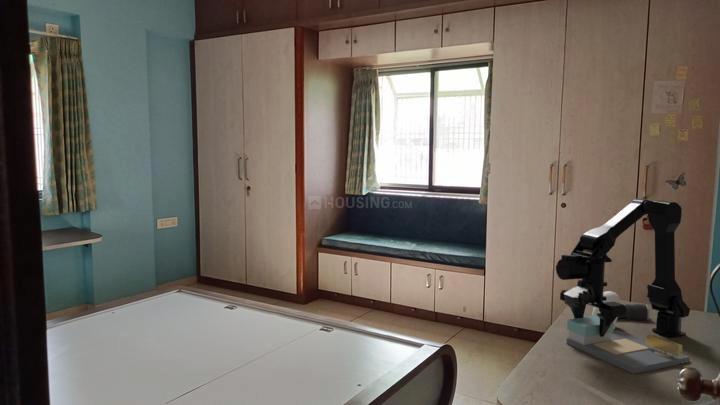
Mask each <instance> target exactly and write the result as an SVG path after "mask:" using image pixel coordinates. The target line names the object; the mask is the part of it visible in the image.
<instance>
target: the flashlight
mask: <svg viewBox="0 0 720 405" xmlns="http://www.w3.org/2000/svg"><path fill="white" fill-rule="evenodd" d="M624 305H625V307H626V309H627V311H626V315H624V316H620V317H618V318H617V319H627V320H635V321H649V320H650V309H649V306H648V304H642V303H641V304H640V303H635V304H629V303H628V304H624Z"/></svg>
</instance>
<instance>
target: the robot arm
mask: <svg viewBox="0 0 720 405" xmlns="http://www.w3.org/2000/svg"><path fill="white" fill-rule="evenodd" d="M682 214H683V211H682V206H681V205H680V204H679V203H678V202H675V201H666V200H656V199H655V200H649V199H647V198H646V199H645V198H633V199H632V200H631V201H630V203H629V204H627V205H626V206H625V207H623V208H622V210H620V211H619V212H618V213H617V214H616V215H614V216H613V217H612V218H610V219H609V220H608V221H606V222H605V223H604V224H603V225H600V226H598V227H595V228H591V229H590V230H588V231H586V232H585V233H582V234H581V236H580V237H579V241H578V243H577V244H576V246H575V247H574V249H572V251H571V253H570V255H569V254H568V255H567V254H562V255H561V259H559V260H558V261H557V263H556V265H555V271H556V274H557V276H558V278H559V279H560V280H562V281H568V280H578V281H577V285H576V286H574V287H572V288H570V289H562V290H561V292H560V293H559V300H560V301H564V302H563V303H564V304H565V305H567V306H568V307H569V308H570V309H571V312H572V315H573V319H576V318H583V317H584V316H585V312H586V308H587V307H586V306H587V305H589V306H592V307H593V308H594V307H597V308H599V311H600V313H599V314H597V316H598V317H599V318H600V337H604V335H605V334H606V332H607V330H608V329H609V327H610V326H611V324H612V323H613V321H614V320H615V319H616V318H617V317H620V316H624V315H626V311H627V309H626V307H625V305H626V304H623V303H621V302H620V303H617V302H614V301H613V302H606V303H604V302H603V301H605V300H606V297H605V296H603V292H605V291H604V290H605V289H604V287H607V286H608V282H607V281H605V269H606V263H611V262H612V261H613V260H612V259H611V257H609V256H608V255H607V254H608V253H609V252H610V250H611V249H612V248H613V247H614V246H615V243H616V240H617V239H618V238H619V237H620V236H621V235H622V234H623V233H624V232H626V231H627V230H628V229H629V228H631V227H632V226H634V224H635V223H636V222H638V221H640V219H641V218H643V217H644V216H645V215H647V219H648V223H649V225H650V226H651V228H652V229H653V232H654V260H655V261H654V263H655V264H654V269H655V270H654V271H655V275H654V276H655V277H654V280H653V281H652V283H651V284H647V286H646V288H647V295H646V297H647V298H648V300H649V303H650V305H651V309H652V310H654V311H657V313H656V314H657V316H656V324H655V328H653V327H652V328H651V331H653V332H655V333H658V334H660V335H664V336H667V337H669V338H674V337H680V336H686V335H687V333H686V332H684V331H682V321H683V320H682V318H684V319H685V317H689V315H690V311H691V308H690V307H689V306H688V305H687V303H686V302H685V301H684V300H683V293H682V289H681V287H680V285H679V284H678V282H677V281H676V274H675V273H676V265H675V264H676V260H675V259H676V257H675V256H676V252H675V251H676V250H675V249H676V248H675V246H676V245H675V242H676V241H675V234H676V233H675V232H676V231H677V228H678V227H679V225H680V224H681V222H682ZM617 319H618V318H617Z"/></svg>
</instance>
